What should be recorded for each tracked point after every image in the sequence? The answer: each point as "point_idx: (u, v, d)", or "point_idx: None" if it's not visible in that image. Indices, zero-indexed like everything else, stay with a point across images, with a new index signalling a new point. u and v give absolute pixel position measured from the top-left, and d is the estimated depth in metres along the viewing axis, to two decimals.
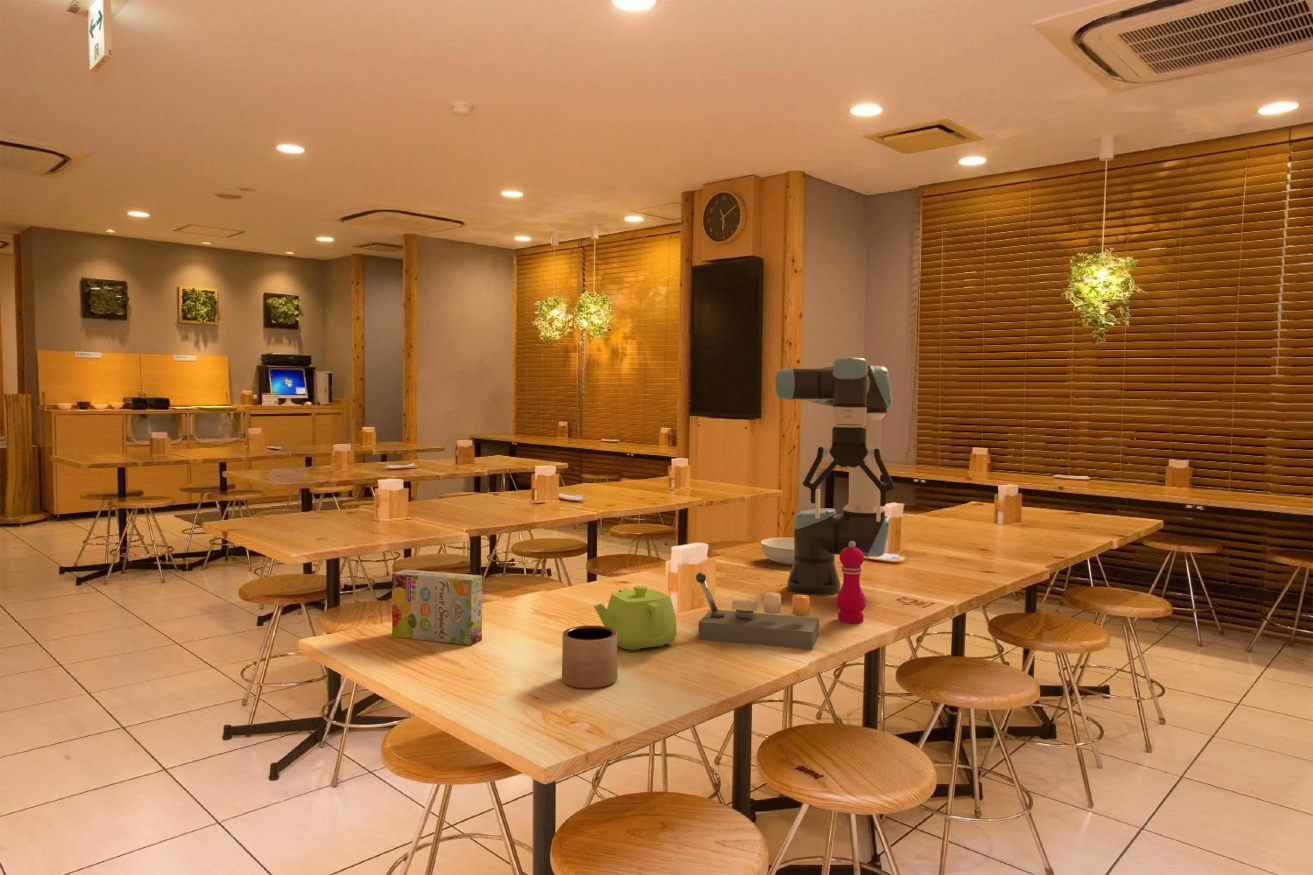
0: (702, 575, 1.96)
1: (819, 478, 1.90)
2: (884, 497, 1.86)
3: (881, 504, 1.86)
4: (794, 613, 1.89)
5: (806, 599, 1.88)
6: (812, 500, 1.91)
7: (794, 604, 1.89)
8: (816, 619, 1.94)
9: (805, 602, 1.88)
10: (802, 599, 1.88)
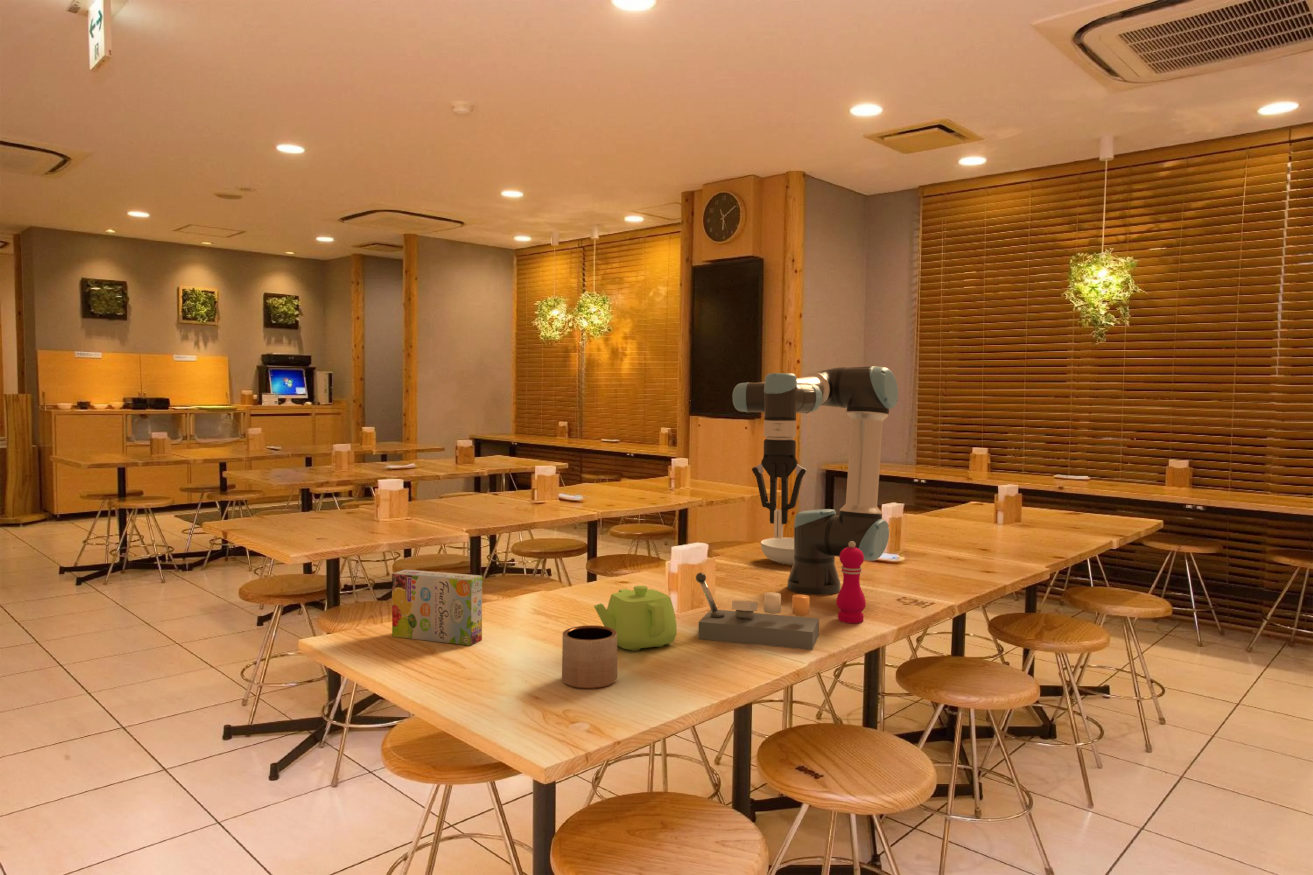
0: (702, 575, 1.96)
1: (771, 497, 1.96)
2: (785, 515, 1.96)
3: (782, 522, 1.96)
4: (794, 613, 1.89)
5: (806, 599, 1.88)
6: (771, 520, 1.97)
7: (794, 604, 1.89)
8: (816, 619, 1.94)
9: (805, 602, 1.88)
10: (802, 599, 1.88)
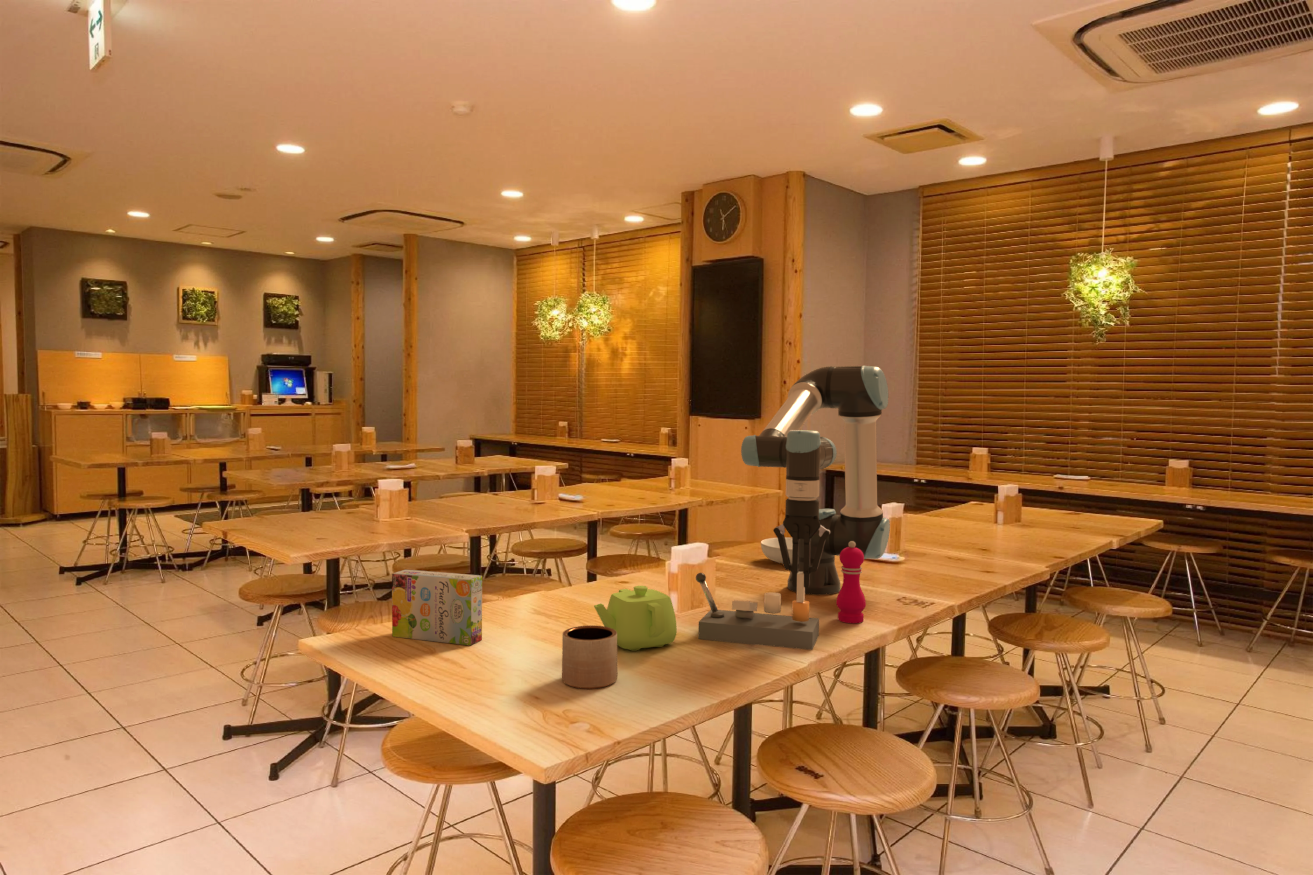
0: (702, 575, 1.96)
1: (793, 559, 1.88)
2: (807, 578, 1.88)
3: (804, 585, 1.88)
4: (794, 619, 1.89)
5: (806, 605, 1.88)
6: (794, 583, 1.89)
7: (794, 610, 1.89)
8: (816, 619, 1.94)
9: (805, 607, 1.88)
10: (802, 605, 1.88)
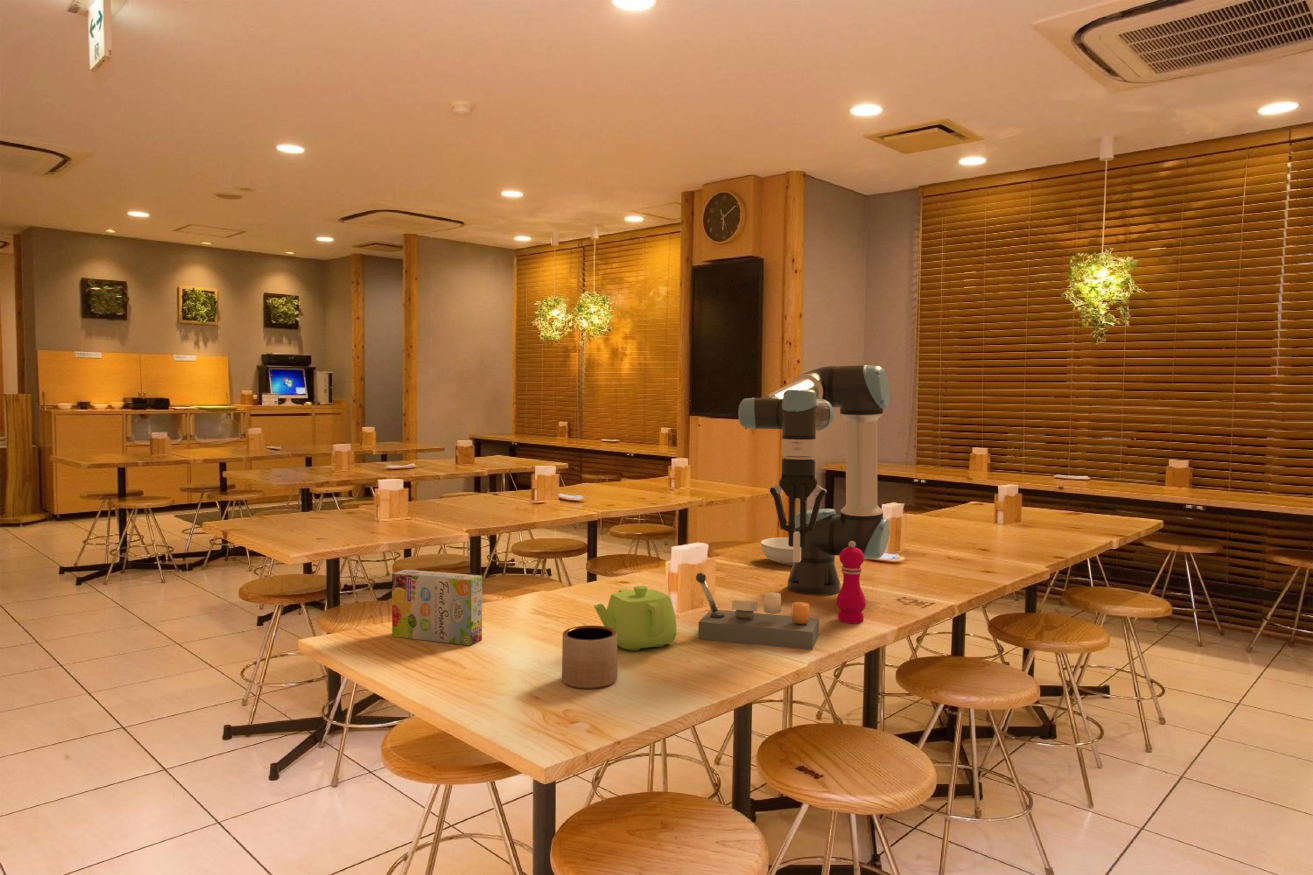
0: (702, 575, 1.96)
1: (790, 519, 1.88)
2: (804, 538, 1.88)
3: (801, 545, 1.88)
4: (794, 621, 1.89)
5: (806, 607, 1.88)
6: (790, 543, 1.89)
7: (794, 612, 1.89)
8: (816, 619, 1.94)
9: (805, 610, 1.88)
10: (802, 607, 1.88)
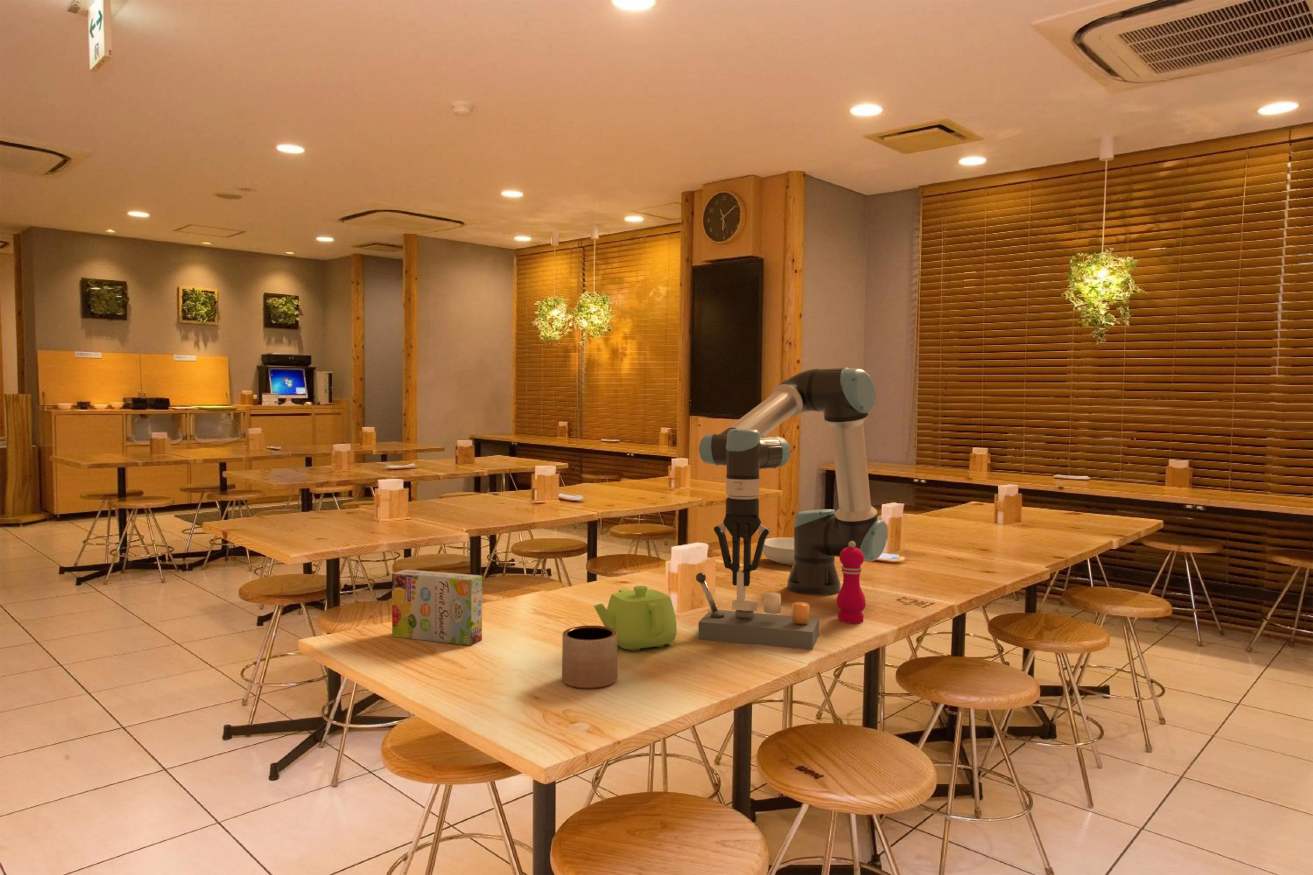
0: (702, 575, 1.96)
1: (733, 558, 1.89)
2: (747, 577, 1.88)
3: (744, 584, 1.89)
4: (794, 621, 1.89)
5: (806, 607, 1.88)
6: (734, 582, 1.89)
7: (794, 612, 1.89)
8: (816, 619, 1.94)
9: (805, 610, 1.88)
10: (802, 607, 1.88)
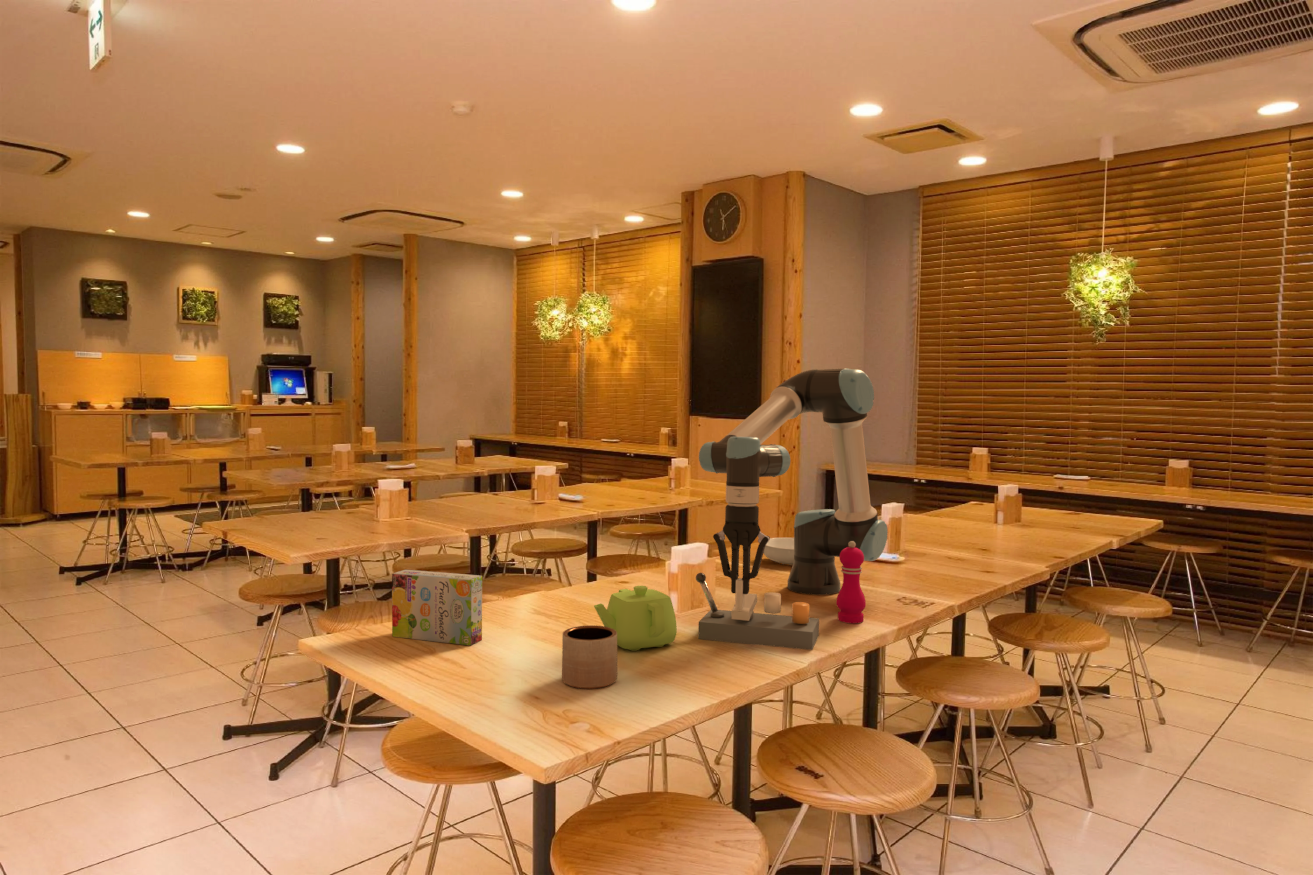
0: (702, 575, 1.96)
1: (732, 566, 1.88)
2: (746, 585, 1.88)
3: (744, 592, 1.88)
4: (794, 621, 1.89)
5: (806, 607, 1.88)
6: (733, 590, 1.89)
7: (794, 612, 1.89)
8: (816, 619, 1.94)
9: (805, 610, 1.88)
10: (802, 607, 1.88)
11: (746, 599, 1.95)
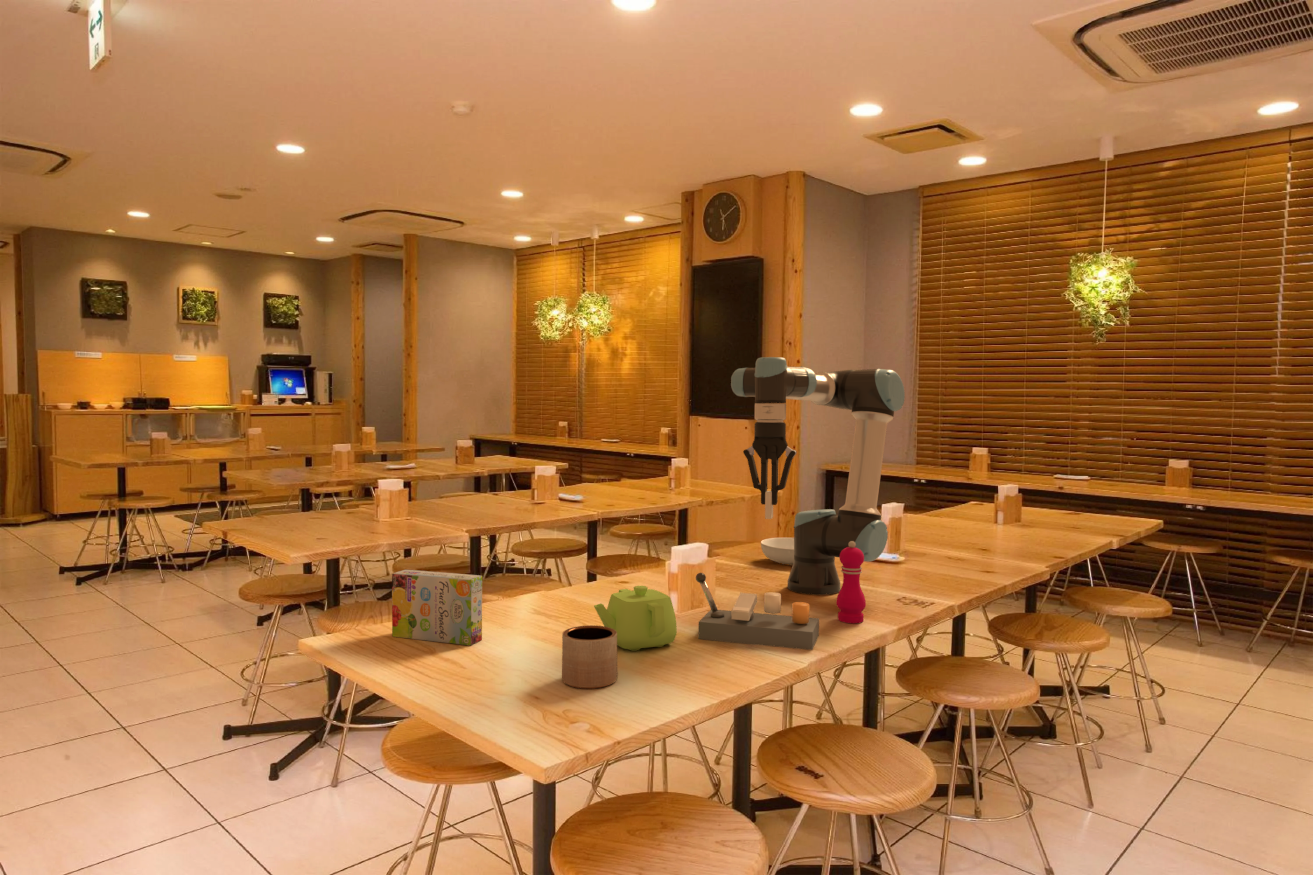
0: (702, 575, 1.96)
1: (762, 479, 2.01)
2: (775, 496, 2.01)
3: (772, 503, 2.01)
4: (794, 621, 1.89)
5: (806, 607, 1.88)
6: (762, 501, 2.02)
7: (794, 612, 1.89)
8: (816, 619, 1.94)
9: (805, 610, 1.88)
10: (802, 607, 1.88)
11: (746, 599, 1.95)
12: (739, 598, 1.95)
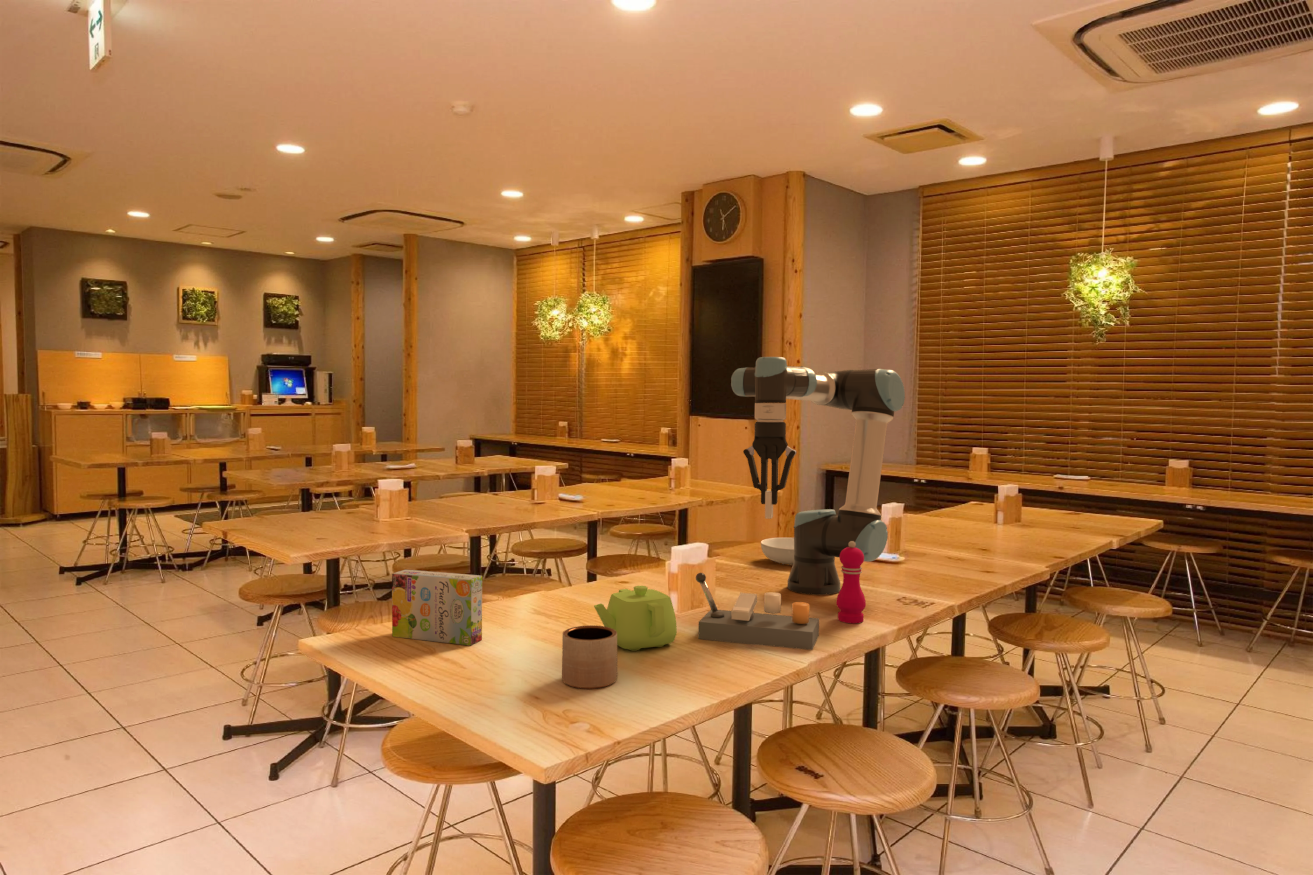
0: (702, 575, 1.96)
1: (762, 478, 2.01)
2: (775, 496, 2.01)
3: (772, 502, 2.01)
4: (794, 621, 1.89)
5: (806, 607, 1.88)
6: (762, 501, 2.02)
7: (794, 612, 1.89)
8: (816, 619, 1.94)
9: (805, 610, 1.88)
10: (802, 607, 1.88)
11: (746, 599, 1.95)
12: (739, 598, 1.95)
